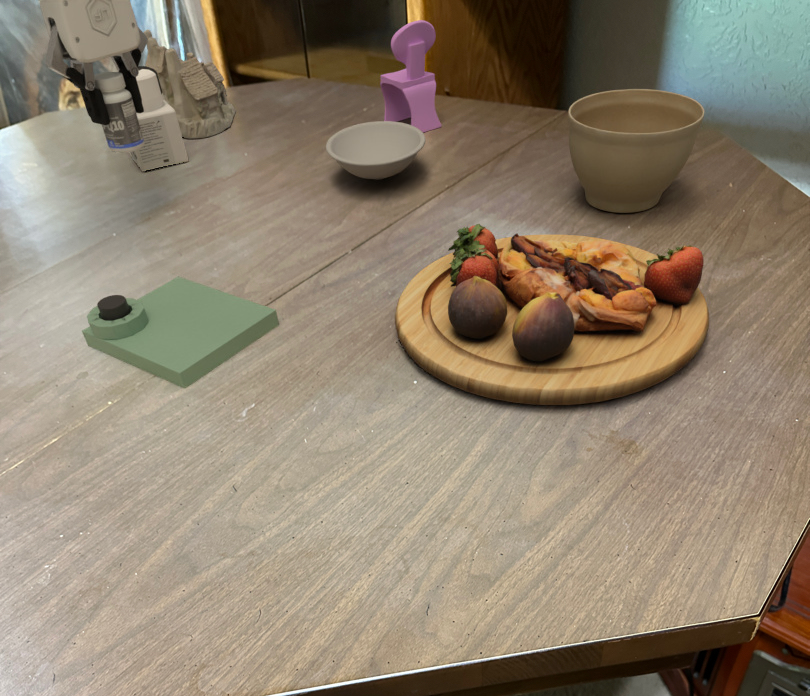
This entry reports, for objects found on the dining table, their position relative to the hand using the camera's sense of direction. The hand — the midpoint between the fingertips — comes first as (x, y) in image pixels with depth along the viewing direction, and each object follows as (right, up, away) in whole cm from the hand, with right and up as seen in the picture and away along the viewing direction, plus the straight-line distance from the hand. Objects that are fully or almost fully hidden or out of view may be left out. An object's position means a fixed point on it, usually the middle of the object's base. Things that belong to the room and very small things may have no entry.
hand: (118, 115), depth 94 cm
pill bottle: (0, -3, +3) cm, 4 cm away
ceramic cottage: (+1, +21, +37) cm, 42 cm away
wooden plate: (+53, -33, -18) cm, 64 cm away
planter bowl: (+67, -10, +2) cm, 68 cm away
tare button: (+7, -31, -17) cm, 36 cm away
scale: (+13, -33, -15) cm, 39 cm away
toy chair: (+39, +15, +28) cm, 50 cm away
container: (-3, +7, +25) cm, 26 cm away
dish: (+34, -2, +13) cm, 36 cm away
